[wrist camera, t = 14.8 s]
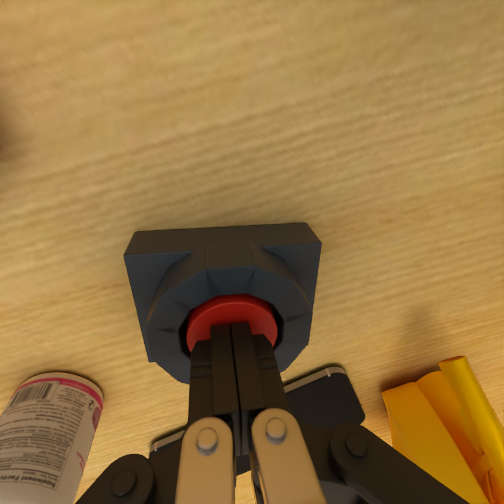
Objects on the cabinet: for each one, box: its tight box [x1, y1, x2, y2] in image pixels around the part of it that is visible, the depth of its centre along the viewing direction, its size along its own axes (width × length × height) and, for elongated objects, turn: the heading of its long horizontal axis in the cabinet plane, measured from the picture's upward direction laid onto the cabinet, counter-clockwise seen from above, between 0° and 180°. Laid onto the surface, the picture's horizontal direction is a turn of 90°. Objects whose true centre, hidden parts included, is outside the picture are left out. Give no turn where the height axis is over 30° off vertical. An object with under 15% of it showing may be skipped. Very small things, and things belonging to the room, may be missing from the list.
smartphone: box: [149, 367, 365, 476], centre depth 21 cm, size 7×1×15 cm
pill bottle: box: [0, 372, 104, 504], centre depth 14 cm, size 5×5×8 cm
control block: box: [124, 223, 322, 385], centre depth 13 cm, size 8×6×4 cm
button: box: [187, 293, 277, 352], centre depth 12 cm, size 4×4×2 cm
